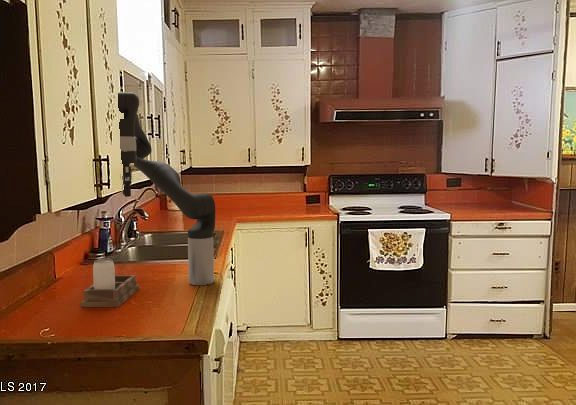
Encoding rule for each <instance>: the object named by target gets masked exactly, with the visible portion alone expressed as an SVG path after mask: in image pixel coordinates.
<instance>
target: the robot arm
mask: <svg viewBox="0 0 576 405" xmlns="http://www.w3.org/2000/svg"><path fill="white" fill-rule="evenodd" d="M139 107H140V99H139V96H138V95H137V93H136V92H132V91H131V92H128V91H127V92H125V91H122V92H121V91H120V92H119V93H118V108H119V111H120V112H121V113H124V119H120V122H119V129H120V149H121V160H122V164H123V176H122V180H123V184H122V186H123V185H124V190H123V189H122V194H123V197H125V198H128V197H129V198H130V197H131V196H132V192H131V191H132V190H131V186H132V181H133V168H132V167H131V166H130V164H131V163H134V166H133V167H135V168H136V169H138V171H140V172H141V173H142V174H144V175H145V176H146V178H148V180H149V181H151V182H152V183H153V184H154V185H155V186H156V188H158V189H159V190H161V192H163V194H165V195H166V196H167V197H168V198H169V199H170V200H171V201H172V202H173V203H174V205H175V206H176V207H177V208H178V209H179V211H180V212H181V213H182V214H183V215H184V216H185V217H186V218H188V219H189V220H196V222H195V223H194V225H193V226H192V227H190V228H189V229H188V230H187V254H188V255H187V256H188V257H187V258H188V259H187V260H188V261H187V262H188V284H189V285H192V286H206V285H207V284H208V285H211V284H213V283H215V263H214V261H215V260H214V259H215V258H214V232H215V228H216V202H215V199H214V197H213V196H212V194H210V193H205V192H203V193H192V192H189V191H188V190H187V189H186V188H185V187H183V186H182V181H181V180H182V179H181V176H180V174H179V173H178V172H177V171H176V169H174V168H173V167H172V166H171V165H170V164H168V163H166V162H162V161H157V160H148V159H145V158H147V157H148V156H149V155H151V153H152V150H153V149H152V145H151V142H150V141H149V138H148V137H147V135H146V133H145V131H144V129H143V127H142V126H141V124H140V119H139V115H138V110H139ZM124 151H125V152H124ZM122 164H121V165H122ZM208 285H207V286H208Z"/></svg>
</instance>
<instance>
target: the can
mask: <svg viewBox="0 0 576 405" xmlns="http://www.w3.org/2000/svg"><path fill="white" fill-rule="evenodd" d="M115 271H116V270H115V263H114V261H113V259H112V258H101V259H96V260H94V262H93V266H92V275H93V284H94V290H105V289H115V275H116V272H115Z"/></svg>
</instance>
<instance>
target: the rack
mask: <svg viewBox="0 0 576 405" xmlns="http://www.w3.org/2000/svg"><path fill="white" fill-rule="evenodd" d="M138 290H140V284H139V283H138V284H137V275H136V274H133V275H132V274H131V275H129V274H125V275H124V274H123V275H122V274H121V275H119V274H118V275H116V274H115V289H105V290H94V283H93V284H91V285H90V286H89V287H87V288H86V289H84V290H83V300H82V301H80V307H81V308H98V307H99V308H102V307H104V308H109V307H112V308H113V307H114V308H116V307H117V308H118V307H119V308H120V307H121V306H122V305H123V304H124V303H125V302H126V301H128V299H130V297H132V296H133V295H134V294H135V293H136V292H138Z"/></svg>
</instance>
